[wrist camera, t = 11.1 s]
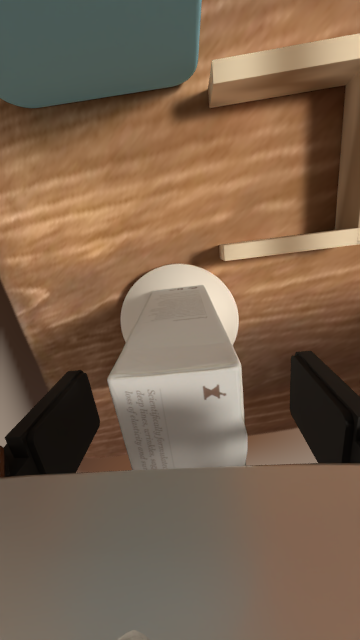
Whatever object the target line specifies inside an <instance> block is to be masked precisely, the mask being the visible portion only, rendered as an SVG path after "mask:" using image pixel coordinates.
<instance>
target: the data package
mask: <svg viewBox="0 0 360 640" xmlns="http://www.w3.org/2000/svg"><path fill="white" fill-rule="evenodd" d="M201 2H202V0H0V98H1V99H2V100H4V101H6V102H8V103H10V104H13V105H16V106H20V107H25V108H40V107H47V106H53V105H59V104H66V103H72V102H78V101H85V100H91V99H97V98H104V97H110V96H116V95H123V94H129V93H135V92H142V91H148V90H154V89H161V88H167V87H173V86H176V85H179V84H181V83H183V82H185V81H186V80H188V79H189V78H190V77H191V76H192V75H193V73H194V72H195V70H196V67H197V63H198V51H199V34H200V18H201Z"/></svg>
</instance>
